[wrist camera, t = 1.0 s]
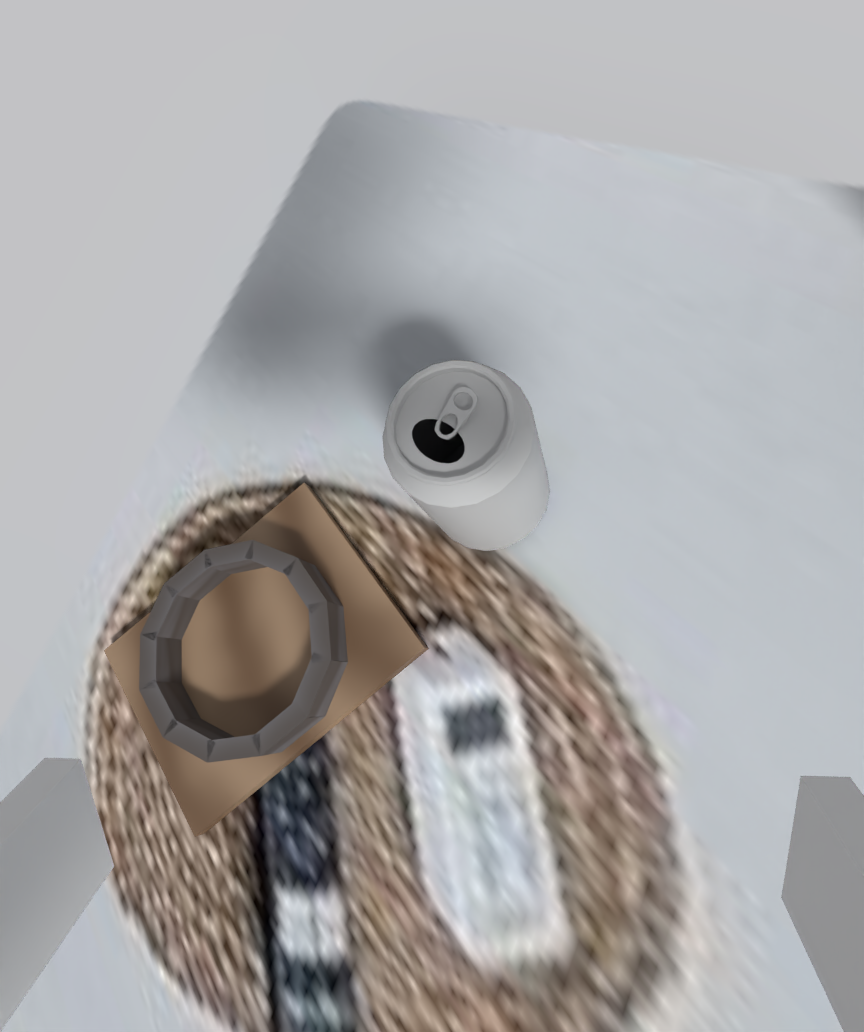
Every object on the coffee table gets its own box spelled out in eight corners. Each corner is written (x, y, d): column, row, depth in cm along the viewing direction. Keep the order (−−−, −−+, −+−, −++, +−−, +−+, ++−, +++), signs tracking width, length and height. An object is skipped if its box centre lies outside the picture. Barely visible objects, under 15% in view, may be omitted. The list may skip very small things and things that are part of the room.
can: (411, 509, 40) (339, 439, 29) (481, 421, 41) (437, 318, 30) (501, 577, 38) (459, 529, 26) (575, 482, 38) (565, 394, 27)
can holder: (310, 487, 43) (286, 470, 39) (428, 648, 38) (412, 644, 34) (114, 651, 43) (75, 648, 40) (204, 833, 38) (167, 846, 35)
